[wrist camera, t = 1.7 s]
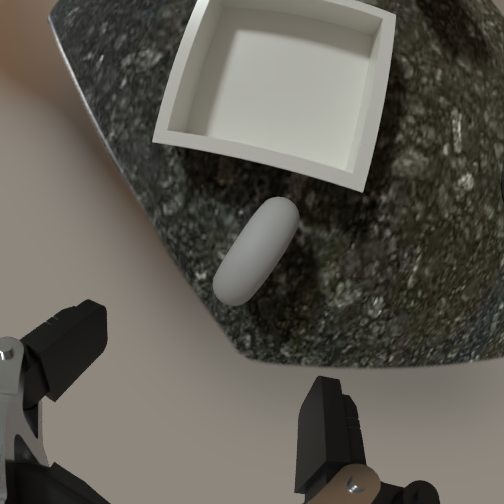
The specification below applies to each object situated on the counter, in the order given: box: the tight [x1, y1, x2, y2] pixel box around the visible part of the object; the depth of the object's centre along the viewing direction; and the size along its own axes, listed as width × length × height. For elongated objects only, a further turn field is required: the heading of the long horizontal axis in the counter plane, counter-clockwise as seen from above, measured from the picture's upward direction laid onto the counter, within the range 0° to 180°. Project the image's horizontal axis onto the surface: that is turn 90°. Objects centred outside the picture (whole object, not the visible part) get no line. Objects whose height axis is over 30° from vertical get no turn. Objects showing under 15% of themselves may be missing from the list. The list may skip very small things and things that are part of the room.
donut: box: [213, 197, 300, 306], centre depth 23 cm, size 10×4×10 cm, turn 147°
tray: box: [152, 0, 396, 192], centre depth 21 cm, size 18×18×5 cm
